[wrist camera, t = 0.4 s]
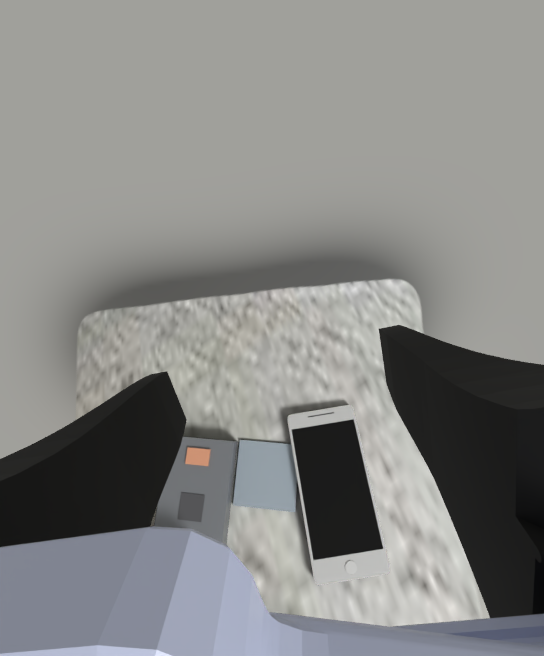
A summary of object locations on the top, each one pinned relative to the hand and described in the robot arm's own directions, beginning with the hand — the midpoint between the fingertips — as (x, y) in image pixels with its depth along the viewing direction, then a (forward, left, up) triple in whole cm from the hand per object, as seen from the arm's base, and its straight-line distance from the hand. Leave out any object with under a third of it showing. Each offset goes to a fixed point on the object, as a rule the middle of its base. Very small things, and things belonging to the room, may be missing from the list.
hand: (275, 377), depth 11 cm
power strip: (-11, +10, -28) cm, 32 cm away
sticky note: (-5, +3, -28) cm, 28 cm away
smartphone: (-6, -4, -28) cm, 28 cm away
